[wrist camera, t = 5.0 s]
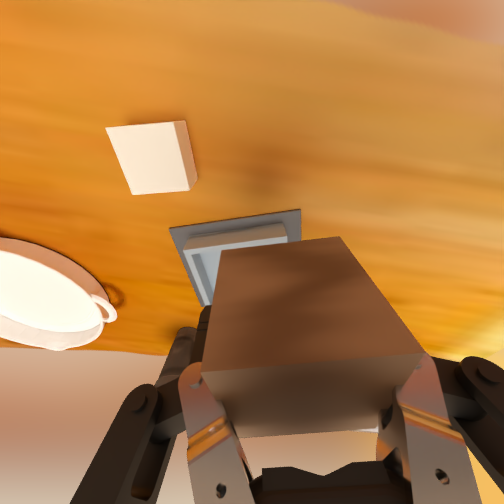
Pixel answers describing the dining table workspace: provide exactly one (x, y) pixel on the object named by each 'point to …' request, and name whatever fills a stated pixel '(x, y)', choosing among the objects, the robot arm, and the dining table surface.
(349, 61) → the dining table surface
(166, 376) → the beverage cup
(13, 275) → the pan
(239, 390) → the walnut block
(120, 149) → the cream block
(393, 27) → the dining table surface
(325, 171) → the dining table surface
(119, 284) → the dining table surface
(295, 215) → the grey shallow box
